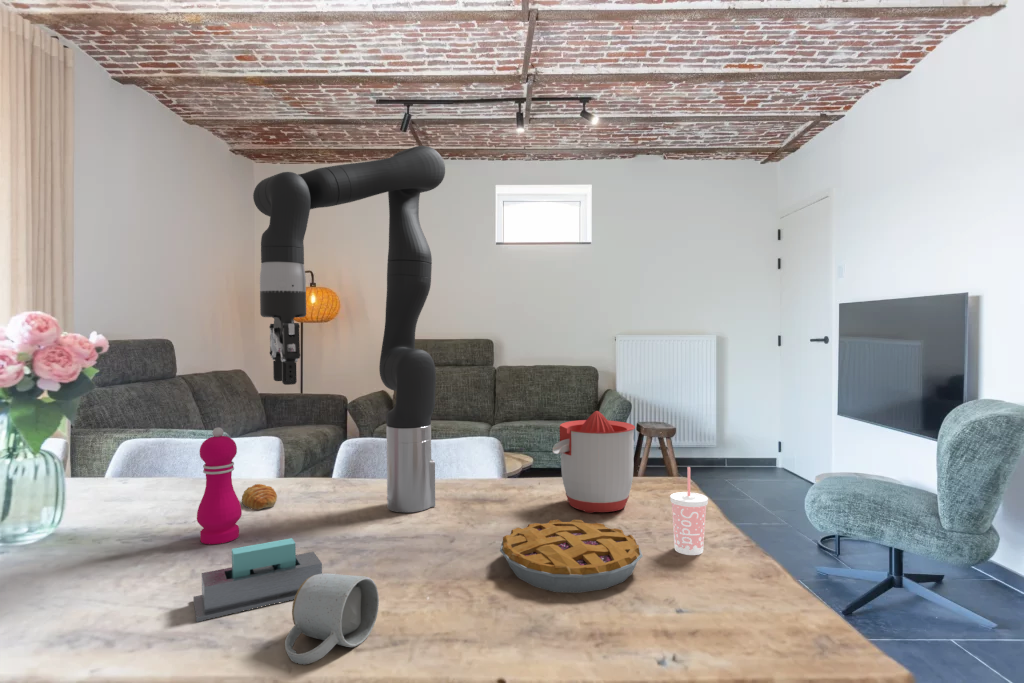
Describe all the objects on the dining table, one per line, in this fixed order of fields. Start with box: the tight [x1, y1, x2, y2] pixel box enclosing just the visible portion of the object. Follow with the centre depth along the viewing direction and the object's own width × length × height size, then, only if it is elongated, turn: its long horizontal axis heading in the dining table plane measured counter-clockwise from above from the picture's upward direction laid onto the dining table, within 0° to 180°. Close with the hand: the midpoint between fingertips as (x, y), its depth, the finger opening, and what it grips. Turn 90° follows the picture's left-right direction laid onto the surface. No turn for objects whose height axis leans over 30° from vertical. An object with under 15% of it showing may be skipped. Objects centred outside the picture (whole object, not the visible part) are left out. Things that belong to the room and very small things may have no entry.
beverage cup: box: [669, 466, 709, 556], centre depth 101 cm, size 6×6×14 cm
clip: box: [231, 537, 297, 578], centre depth 84 cm, size 8×2×6 cm, turn 121°
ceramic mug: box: [284, 573, 380, 665], centre depth 72 cm, size 11×8×8 cm
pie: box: [499, 519, 643, 594], centre depth 94 cm, size 22×22×5 cm
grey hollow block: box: [192, 551, 323, 623], centre depth 84 cm, size 17×7×4 cm, turn 121°
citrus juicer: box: [552, 410, 636, 514], centre depth 126 cm, size 16×17×20 cm
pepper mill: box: [196, 426, 243, 545], centre depth 107 cm, size 7×7×20 cm
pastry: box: [241, 483, 278, 511], centre depth 128 cm, size 9×7×4 cm
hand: (284, 382), depth 105 cm, fingers open, 8 cm apart
